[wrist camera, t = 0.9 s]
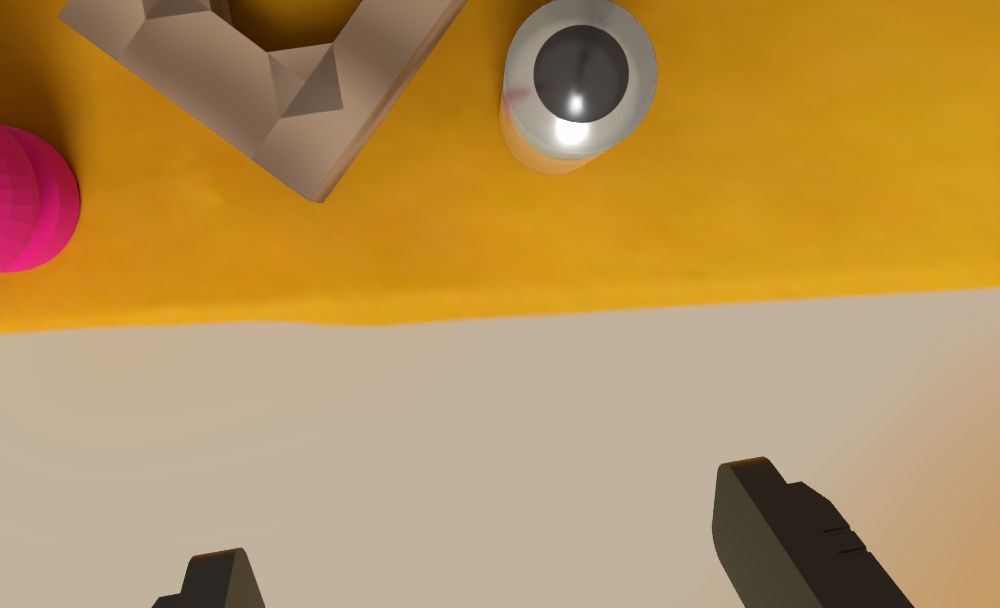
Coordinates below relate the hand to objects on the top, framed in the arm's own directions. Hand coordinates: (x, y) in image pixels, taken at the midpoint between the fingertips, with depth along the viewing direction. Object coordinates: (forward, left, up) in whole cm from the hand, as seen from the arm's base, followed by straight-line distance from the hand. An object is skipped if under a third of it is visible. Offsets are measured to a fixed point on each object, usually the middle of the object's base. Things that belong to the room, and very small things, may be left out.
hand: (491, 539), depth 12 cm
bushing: (-10, -4, -20) cm, 23 cm away
